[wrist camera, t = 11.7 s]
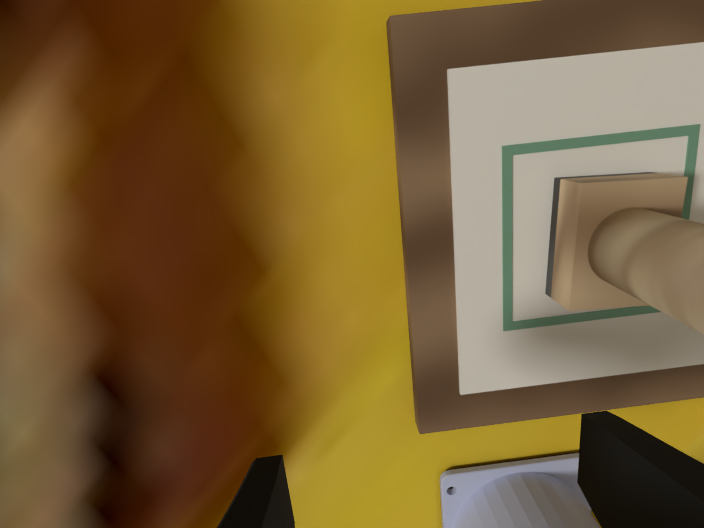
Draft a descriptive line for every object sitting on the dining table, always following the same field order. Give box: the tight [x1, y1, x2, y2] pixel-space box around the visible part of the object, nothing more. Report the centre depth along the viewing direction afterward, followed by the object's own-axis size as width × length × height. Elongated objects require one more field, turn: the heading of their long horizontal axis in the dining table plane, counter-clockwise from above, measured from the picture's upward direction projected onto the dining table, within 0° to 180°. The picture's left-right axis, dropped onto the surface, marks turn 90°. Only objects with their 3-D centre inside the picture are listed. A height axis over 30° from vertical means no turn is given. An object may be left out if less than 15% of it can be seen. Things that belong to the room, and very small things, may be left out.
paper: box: [447, 42, 704, 395], centre depth 19 cm, size 14×12×1 cm
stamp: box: [545, 172, 704, 335], centre depth 16 cm, size 5×4×7 cm
